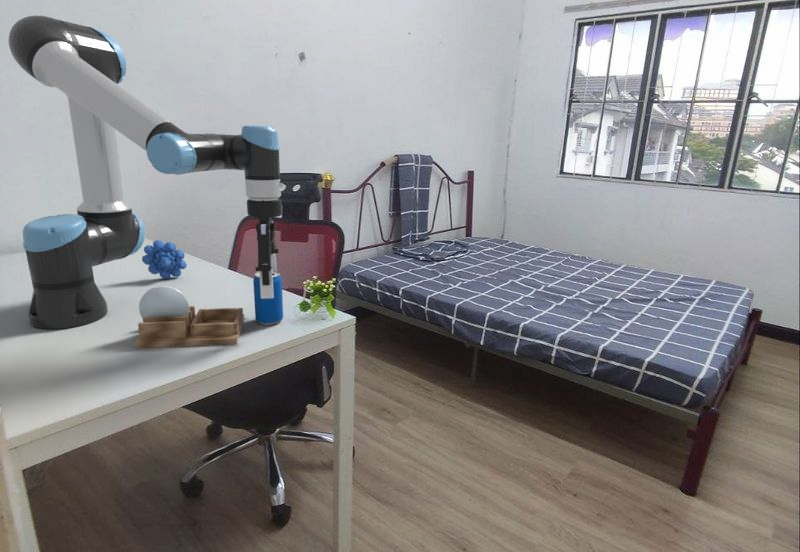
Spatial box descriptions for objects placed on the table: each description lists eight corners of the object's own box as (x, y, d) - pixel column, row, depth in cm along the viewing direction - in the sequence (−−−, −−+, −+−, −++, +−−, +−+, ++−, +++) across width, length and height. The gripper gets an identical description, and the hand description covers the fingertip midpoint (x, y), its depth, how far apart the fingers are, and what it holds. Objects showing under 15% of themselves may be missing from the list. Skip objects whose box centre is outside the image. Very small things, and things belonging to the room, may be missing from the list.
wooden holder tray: (135, 348, 96) (132, 327, 95) (155, 321, 109) (153, 303, 108) (236, 343, 100) (235, 323, 99) (244, 318, 113) (243, 300, 112)
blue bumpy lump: (145, 285, 133) (140, 244, 130) (144, 278, 139) (139, 239, 135) (189, 280, 139) (185, 241, 135) (186, 274, 144) (183, 236, 141)
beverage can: (288, 319, 113) (287, 273, 110) (269, 328, 108) (267, 279, 105) (269, 314, 117) (267, 268, 113) (249, 322, 111) (247, 274, 108)
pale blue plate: (141, 330, 101) (136, 287, 98) (143, 329, 102) (137, 286, 99) (190, 329, 103) (186, 286, 100) (191, 327, 104) (187, 285, 101)
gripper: (278, 206, 93) (283, 306, 99) (283, 191, 116) (287, 272, 122) (239, 206, 91) (246, 307, 97) (252, 191, 115) (257, 273, 121)
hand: (269, 288), depth 110 cm, fingers open, 13 cm apart
